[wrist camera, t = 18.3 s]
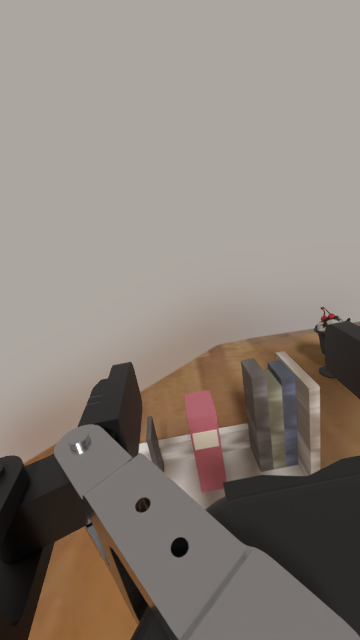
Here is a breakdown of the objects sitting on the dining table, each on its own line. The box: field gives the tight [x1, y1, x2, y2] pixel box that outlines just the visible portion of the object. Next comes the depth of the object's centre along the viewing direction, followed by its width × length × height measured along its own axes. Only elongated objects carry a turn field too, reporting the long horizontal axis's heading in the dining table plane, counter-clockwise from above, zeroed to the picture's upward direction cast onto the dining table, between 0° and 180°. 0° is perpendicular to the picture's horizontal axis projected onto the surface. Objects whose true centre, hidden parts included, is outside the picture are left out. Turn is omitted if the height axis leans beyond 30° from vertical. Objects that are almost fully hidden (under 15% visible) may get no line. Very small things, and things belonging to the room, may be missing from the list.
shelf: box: [139, 351, 320, 509], centre depth 37 cm, size 26×9×16 cm, turn 94°
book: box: [184, 390, 227, 492], centre depth 37 cm, size 4×5×12 cm
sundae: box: [314, 307, 350, 378], centre depth 57 cm, size 7×7×15 cm
